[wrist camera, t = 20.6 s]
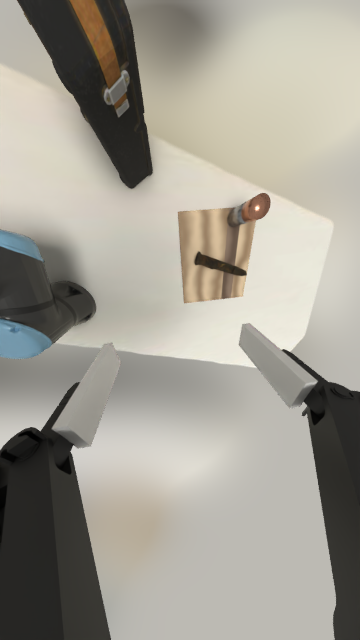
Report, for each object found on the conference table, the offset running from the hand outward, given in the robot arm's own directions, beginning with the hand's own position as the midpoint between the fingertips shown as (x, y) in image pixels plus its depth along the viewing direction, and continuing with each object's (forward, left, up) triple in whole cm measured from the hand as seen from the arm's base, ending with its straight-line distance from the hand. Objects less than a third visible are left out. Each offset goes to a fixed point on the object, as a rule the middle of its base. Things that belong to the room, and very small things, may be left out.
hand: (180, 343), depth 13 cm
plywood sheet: (+17, +4, -36) cm, 40 cm away
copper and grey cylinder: (+22, +15, -36) cm, 45 cm away
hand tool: (+18, +3, -36) cm, 41 cm away
